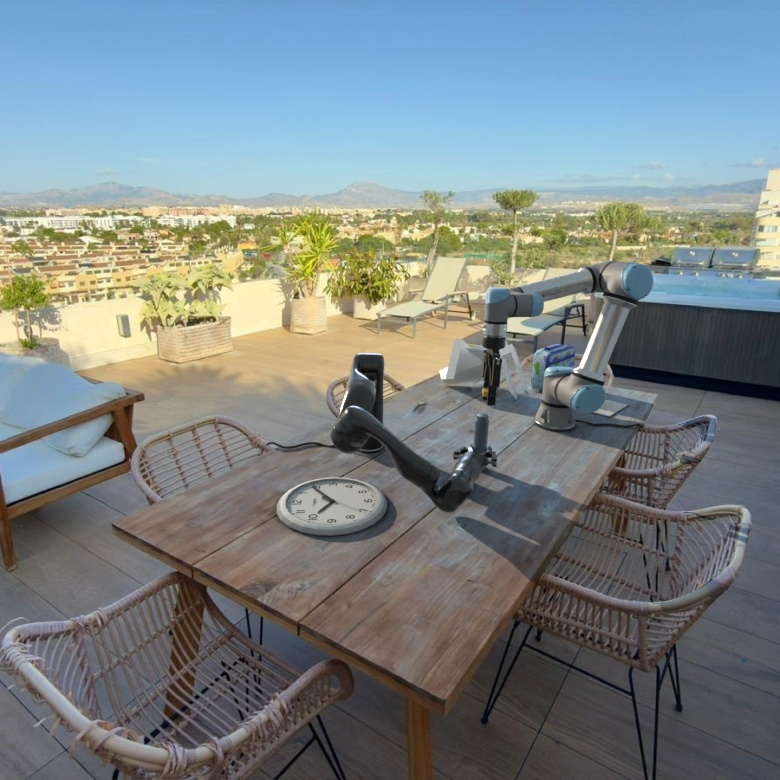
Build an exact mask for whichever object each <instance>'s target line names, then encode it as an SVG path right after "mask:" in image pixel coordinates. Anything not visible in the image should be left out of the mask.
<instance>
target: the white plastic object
mask: <svg viewBox="0 0 780 780" xmlns="http://www.w3.org/2000/svg"><path fill="white" fill-rule="evenodd" d="M505 338H506V342H505V348H503V349H500V350H499V354H500V358H502V364H501V368H502V370H503V373H504V376H505V380H506V383H507V386H508V390H509V393H510V394H511V395H512V397H513V398H514V399H515V400H517V392H516V391H517V390H516V388H515V385H514V381H513V378H512V375H511V371H510V369H509V365H508V361H510V360H513V363H514V366H515V369H516V372H517V376H518V380H519V382H520V385H521V389H522V391H523V393H524V395H525V396H526V397H528V396H531V395H530V390H529V388H528V387H529V386H528V384H527V381H526V378H525V375H524V371H523V369H522V368H523V367H522V366H521V362H520V359H519V355H518V352H517V349H516V347H515V346H514V345H513V343H511V344H508V341H507V337H506V336H505ZM484 350H487V348H484V347H483V346H482V344H479V345H473V346H469V345H468V343H466V342H465V340H464V339H463V338H460V339H458V338H454V340H453V344H452V349H451V353H450V357H449V362H448V366H446V367H444V368H442V369H440V370H439V371H438V372H439V376H440V381H442V383H443V384H444V385H445V386H449V385H458V384H467V383H468V384H469V383H473V384H477V383H480V382H482V381H484V380H483V379H484V378H482V372H483V360H484Z"/></svg>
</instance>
